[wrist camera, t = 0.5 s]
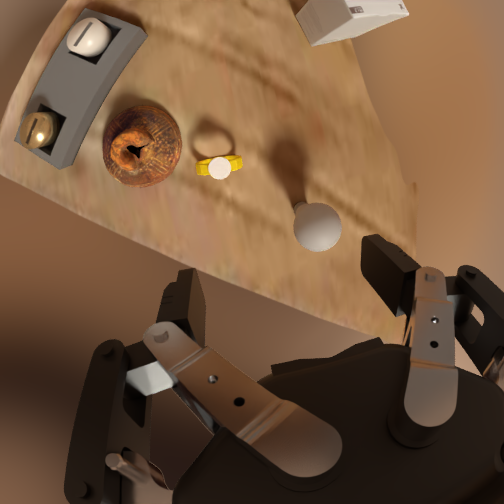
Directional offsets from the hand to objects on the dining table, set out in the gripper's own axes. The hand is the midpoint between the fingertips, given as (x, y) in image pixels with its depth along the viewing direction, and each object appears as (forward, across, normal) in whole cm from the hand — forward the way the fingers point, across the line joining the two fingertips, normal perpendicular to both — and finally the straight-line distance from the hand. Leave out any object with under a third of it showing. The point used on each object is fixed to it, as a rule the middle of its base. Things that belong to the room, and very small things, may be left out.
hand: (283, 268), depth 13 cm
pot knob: (+24, +16, -24) cm, 38 cm away
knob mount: (+28, +21, -19) cm, 40 cm away
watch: (+28, +3, -2) cm, 28 cm away
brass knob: (+24, +26, -14) cm, 38 cm away
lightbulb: (+28, -8, +7) cm, 30 cm away
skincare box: (+28, -16, -21) cm, 38 cm away
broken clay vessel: (+28, +13, -6) cm, 31 cm away
